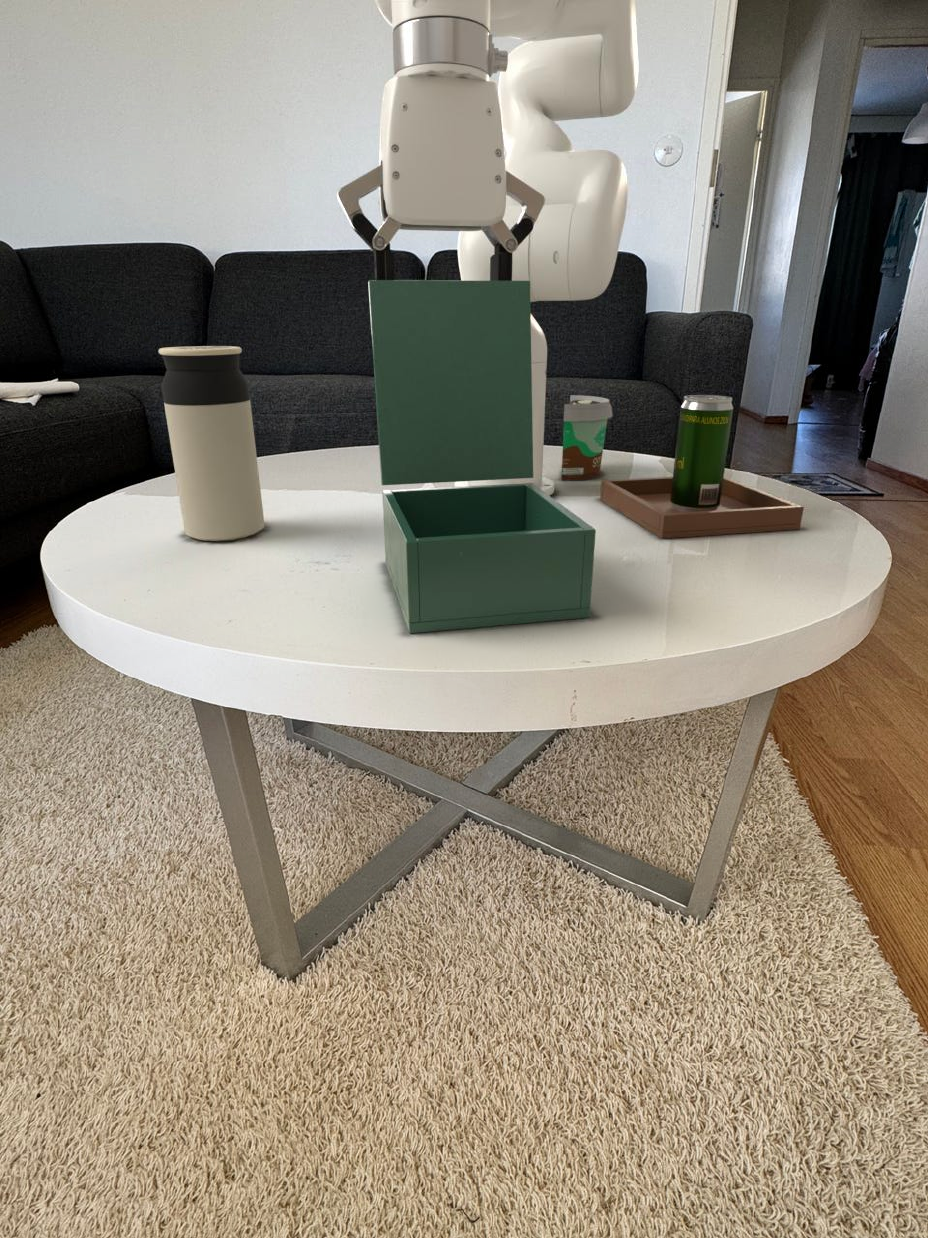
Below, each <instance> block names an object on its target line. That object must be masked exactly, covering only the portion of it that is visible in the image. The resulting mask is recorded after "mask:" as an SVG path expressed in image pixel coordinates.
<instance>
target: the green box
mask: <svg viewBox="0 0 928 1238" xmlns="http://www.w3.org/2000/svg"><path fill="white" fill-rule="evenodd" d="M381 493H382V515H383V535H384V537H383V538H384V556H385V557H384V559H385V566H386V569H387V572H388V575H389V578H390V580H391V581H390V582H391V583H392V587H393V589H394V592H395V595H396V598H397V601H398V604H399V607H400V610H401V613H402V616H403V619H404V621H405V624H406V627H407V630H408V633H409V634H418V633H428V632H441V631H452V630H461V629H462V630H463V629H474V628H475V629H476V628H485V627H495V626H507V625H508V626H509V625H518V624H519V625H520V624H530V623H541V622H542V623H543V622H553V621H564V620H574V619H585V618H590V617H591V615H590V614H591V604H592V603H591V601H592V590H593V589H592V588H593V586H592V585H593V575H594V573H593V572H594V561H595V559H594V558H595V548H596V547H595V546H596V545H595V544H596V533H597V532H596V531H597V529H595V528H594V527H593V526H591V525H590V524H588V523H587V522H586V521H584V520H583V519H582V518H580V517H579V516H578V515H576V514H575V513H574V512H573V511H571V510H570V509H568V508H567V507H566V506H564V505H562V504H561V503H560V502H559V501H557V499H554V498H553V497H551V495H550V496H549V495H548V494H546V493H545V492H544V491H542V490H541V489H539V488H538V487H537V486H535V485H534V484H533V483H524V484H523V483H521V484H501V485H482V486H462V487H455V486H444V487H424V488H405V489H385V490H381Z"/></svg>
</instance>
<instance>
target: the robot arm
mask: <svg viewBox="0 0 928 1238" xmlns="http://www.w3.org/2000/svg"><path fill="white" fill-rule="evenodd" d="M374 2H375V4H376V7H377V8H378V11H379V13H380V14H381V15H382V17H383V18H384V20H385V21H386V23H388V25H390V26H391V28H392V29H391V31H392V58H393V77H392V78H390V79H388V80H387V81H386V83H385V84H384V87H383V93H382V100H381V101H382V102H381V111H380V122H379V123H380V125H379V166H376V167H375V168H373V169H372V170H370V171H368V172H366V173H364V174H362V175H361V176H359V177H357V178H356V179H354V180H352V181H351V182H349V183H347V184H345V185H344V186H342V187H340V188H339V189H338V192H337V194H336V195H337V196H336V197H337V200H338V203H339V204H340V207H341V208H342V210H343V212H344V214H345V216H346V218H347V219H348V222H349V224H350V226H351V228H352V230H353V231H354V232H355V233H356V235H358V237H360V239H362V241H363V242H364V243H365V244H366V245H367V246H368V247H369V248H370V251H371V252H372V253H373V260H374V261H373V262H374V280H396V279H395V278H396V277H395V253H394V252H392V249H391V242H392V239H393V238H394V237H395V235H396V234H397V233H398V232H399V230H405V231H431V232H434V231H435V232H436V231H437V232H459V233H458V238H457V260H458V268H459V274H460V281H530V303H534V302H535V303H536V302H555V301H556V302H557V301H558V302H560V301H563V302H565V301H567V302H568V301H570V302H572V301H573V302H575V301H587V300H592V299H596V298H597V297H599V296H601V295H602V294H603V293H604V292H605V291H606V289H608V286H609V284H610V283H611V280H612V277H613V274H614V270H615V266H616V262H617V258H618V254H619V253H618V252H619V248H620V244H621V239H622V234H623V230H624V225H625V220H626V215H627V207H628V195H629V194H628V191H629V186H628V185H629V184H628V176H627V172H626V167H625V165H624V163H623V161H622V159H621V158H620V157H619V155H618V154H616V153H614V152H613V151H610V150H606V149H586V150H585V149H583V150H575V148H574V146H573V144H572V142H571V140H570V138H569V137H568V135H567V134H566V133H565V131H564V130H563V129H562V128H561V127H560V126H559V124H557V123H556V122H560V121H561V122H562V121H570V120H584V119H586V120H587V119H597V118H608V117H614V116H618V115H620V114H622V113H623V112H624V111H626V110H627V109H628V108H629V107H630V106H631V104H632V102H633V100H634V98H635V95H636V91H637V86H638V79H639V51H638V50H639V49H638V31H637V30H638V29H637V28H638V27H637V6H636V5H637V4H636V0H374ZM493 38H510V39H516V40H521V41H526V42H524V43H522V44H520V45H518V46H517V47H515V48H514V49H512V50H511V52H509V53H508V51H507V50H500V49H499V48H498V47H495V44H494V43H493ZM498 72H499V77H498V85H497V84H496V82H494V81H490V79H491V77H492V76H493V75H494V74H497V73H498ZM378 189H379V206H380V215H381V219H382V221H383V222H382V224H380V227H379V228H378V229H377V227H376V226H375V225H374V224H373V223H372V222H371V221H370V220H369V219H368V218H367V216H365V214H364V212H363V210H362V208H361V205H360V200H361V199H362V198H364V197H365V196H367V195H369V194H371V193H372V192H374V191H376V190H378ZM547 363H548V343H547V339H546V336H545V333H544V330H543V329H542V327H541V325H540V324H539V323H538V321H537V320H536V319H535V318H534V316H533V314H532V313H531V368H532V428H533V478H521V479H500V480H480V481H460V482H454V484H453V485H454V487H462V486H482V485H501V484H521V483H523V484H524V483H533V484H534V485H535V486H537V487H538V488H539V489H541V490H542V491H544V492H545V493H546V494H548V495H549V496H550V497H551V496H552V495H553V494H554V493H555V482H554V481H553V480H552V479H550V478H548V477H545V476H543V468H544V467H543V464H544V443H545V442H544V440H545V419H546V418H545V416H546V392H547V391H546V389H547V369H548V368H547V367H548V365H547Z"/></svg>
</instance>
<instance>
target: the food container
mask: <svg viewBox="0 0 928 1238" xmlns="http://www.w3.org/2000/svg"><path fill="white" fill-rule="evenodd" d="M569 397H570V398H569V403H567V404H564V410H563V434H562V453H561V454H562V455H561V456H562V457H561V477H560V478H561V481H582V480H591V479H594V478H597V477H599V476H600V473H601V467H602V460H603V453H604V445H605V440H606V432H607V425H608V419H612V418H613V410H612V409H613V408H612V405H611V404H610V399H609V398H606V397H600V396H593V395H581V394H580V395H577V394H570V396H569Z"/></svg>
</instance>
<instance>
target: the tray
mask: <svg viewBox="0 0 928 1238" xmlns="http://www.w3.org/2000/svg"><path fill="white" fill-rule="evenodd" d="M672 479H673V476H660V477H659V476H658V477H642V478H640V477H639V478H623V479H622V478H621V479H620V478H619V479H604V480H601V481H600V496H599V501H601V502H602V503H604V504H605V505H607V506H609V507H610V508H612V509H614V510H615V511H616V512H618V513H620V514H622V515H623V516H625V517H627V518H628V519H629V520H632V521H633V522H634V523H636V524H638V525H639V526H641V527H643V528H644V529H646V530H648V531H649V532H651V533H652V534H654V535H656V536H657V537H658V538H660V539H662V540H663V539H677V538H691V537H705V536H721V535H734V534H750V533H751V534H752V533H763V532H764V533H765V532H778V531H779V532H780V531H793V530H794V531H795V530H800V529H801V525H802V518H803V514H804V509H805V507H804V506H803V505H799V504H797V503H795V502H793V501H789V500H787V499H784V498H781V497H779V496H776V495H774V494H771V493H769V492H766V491H763V490H761V489H758V488H755V487H753V486H750V485H748V484H746V483H743V482H740V481H738V480H736V479H732V478H730V477H727V476H725V475H724V478H723V485H722V492H721V499H720V505H719V507H718V508H717V510H714V511H697V512H680V511H677V510H674V509H673V508H672V505H671V502H670V497H671V488H672Z"/></svg>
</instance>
